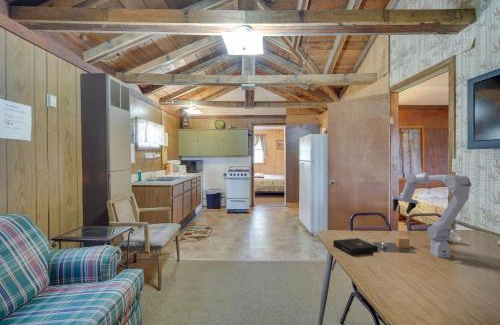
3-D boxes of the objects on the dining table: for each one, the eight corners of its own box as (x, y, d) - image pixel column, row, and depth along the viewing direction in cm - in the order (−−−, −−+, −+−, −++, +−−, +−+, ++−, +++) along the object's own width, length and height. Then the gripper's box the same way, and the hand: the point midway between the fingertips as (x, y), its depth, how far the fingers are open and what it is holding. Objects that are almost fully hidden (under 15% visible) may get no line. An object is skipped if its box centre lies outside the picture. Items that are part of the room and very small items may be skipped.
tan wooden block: (409, 247, 161) (409, 239, 161) (398, 247, 162) (398, 238, 162) (405, 244, 167) (405, 236, 167) (395, 244, 168) (395, 235, 168)
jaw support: (448, 233, 183) (455, 226, 176) (454, 247, 177) (461, 239, 170) (428, 233, 184) (434, 226, 177) (433, 246, 178) (439, 239, 171)
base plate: (416, 255, 152) (416, 248, 152) (380, 253, 155) (380, 247, 155) (403, 245, 170) (403, 239, 170) (371, 243, 173) (371, 237, 173)
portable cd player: (378, 253, 156) (378, 246, 156) (351, 256, 151) (351, 249, 151) (358, 244, 172) (358, 238, 172) (333, 247, 167) (333, 240, 167)
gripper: (418, 191, 172) (410, 210, 178) (393, 186, 174) (386, 206, 179) (423, 197, 166) (414, 217, 171) (396, 192, 168) (389, 212, 173)
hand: (400, 211), depth 175 cm, fingers open, 7 cm apart
